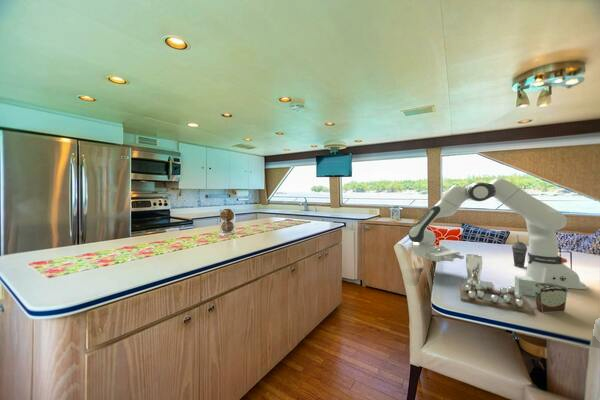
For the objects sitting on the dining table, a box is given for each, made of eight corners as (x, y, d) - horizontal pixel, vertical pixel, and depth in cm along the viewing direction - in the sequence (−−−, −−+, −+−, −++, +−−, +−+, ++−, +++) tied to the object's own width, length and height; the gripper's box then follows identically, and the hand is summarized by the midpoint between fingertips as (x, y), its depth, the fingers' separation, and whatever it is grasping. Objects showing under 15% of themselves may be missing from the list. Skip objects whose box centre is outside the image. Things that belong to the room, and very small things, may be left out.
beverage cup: (521, 268, 150) (522, 236, 149) (508, 265, 157) (509, 234, 156) (529, 267, 152) (530, 235, 151) (516, 264, 159) (517, 233, 158)
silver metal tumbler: (484, 287, 122) (485, 257, 122) (468, 286, 124) (469, 256, 123) (478, 282, 129) (478, 254, 128) (463, 281, 130) (463, 253, 130)
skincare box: (530, 291, 117) (530, 276, 117) (535, 296, 112) (536, 281, 111) (514, 289, 120) (514, 274, 119) (518, 294, 114) (519, 279, 114)
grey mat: (491, 282, 129) (491, 282, 129) (495, 291, 118) (495, 290, 118) (462, 278, 135) (462, 278, 135) (463, 285, 125) (463, 285, 125)
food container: (551, 304, 104) (552, 281, 103) (568, 311, 98) (568, 287, 97) (524, 305, 103) (524, 282, 103) (538, 312, 97) (539, 288, 97)
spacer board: (522, 296, 112) (522, 294, 112) (533, 314, 96) (533, 311, 96) (459, 286, 124) (459, 284, 124) (461, 300, 109) (461, 298, 109)
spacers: (517, 296, 112) (517, 287, 112) (527, 312, 98) (527, 302, 97) (464, 287, 123) (464, 279, 123) (465, 301, 108) (465, 292, 108)
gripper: (423, 250, 143) (446, 255, 131) (445, 246, 152) (468, 251, 140) (423, 260, 143) (446, 267, 131) (445, 256, 152) (468, 261, 140)
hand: (458, 258), depth 135 cm, fingers open, 8 cm apart
